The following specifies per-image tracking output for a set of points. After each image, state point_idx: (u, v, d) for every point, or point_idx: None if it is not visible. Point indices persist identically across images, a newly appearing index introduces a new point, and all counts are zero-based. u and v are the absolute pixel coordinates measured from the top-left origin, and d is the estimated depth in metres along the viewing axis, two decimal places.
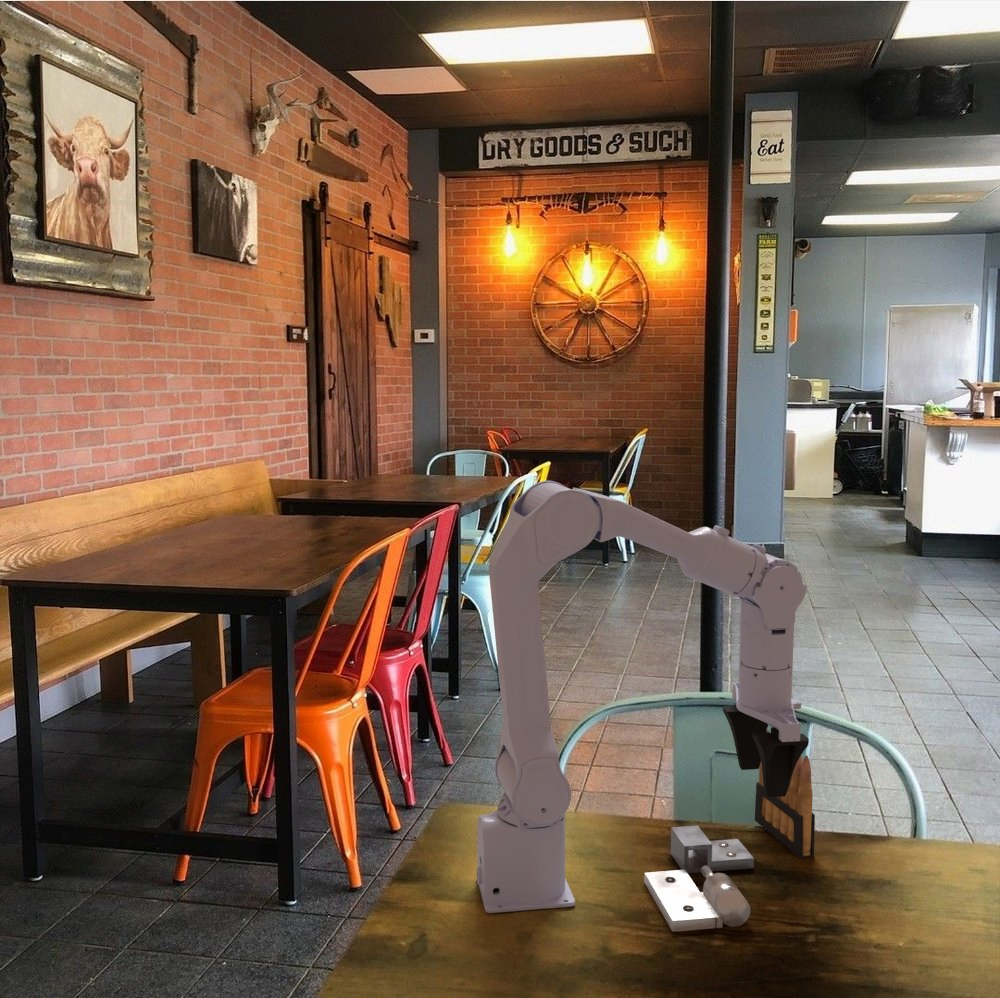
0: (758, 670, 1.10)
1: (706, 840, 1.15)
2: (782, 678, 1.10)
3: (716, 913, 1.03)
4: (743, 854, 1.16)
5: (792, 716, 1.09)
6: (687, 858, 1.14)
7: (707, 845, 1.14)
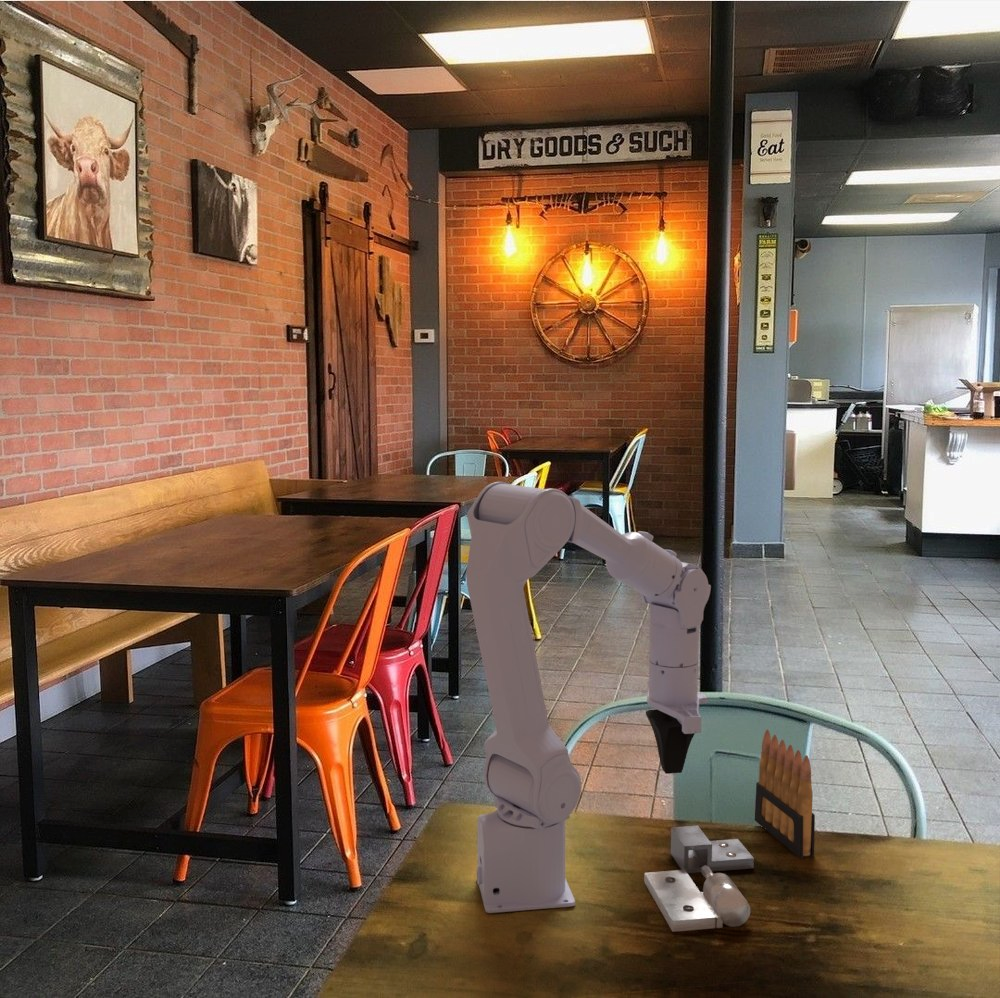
0: (665, 667, 1.18)
1: (706, 840, 1.15)
2: (687, 674, 1.18)
3: (716, 913, 1.03)
4: (743, 854, 1.16)
5: (695, 710, 1.17)
6: (687, 858, 1.14)
7: (707, 845, 1.14)
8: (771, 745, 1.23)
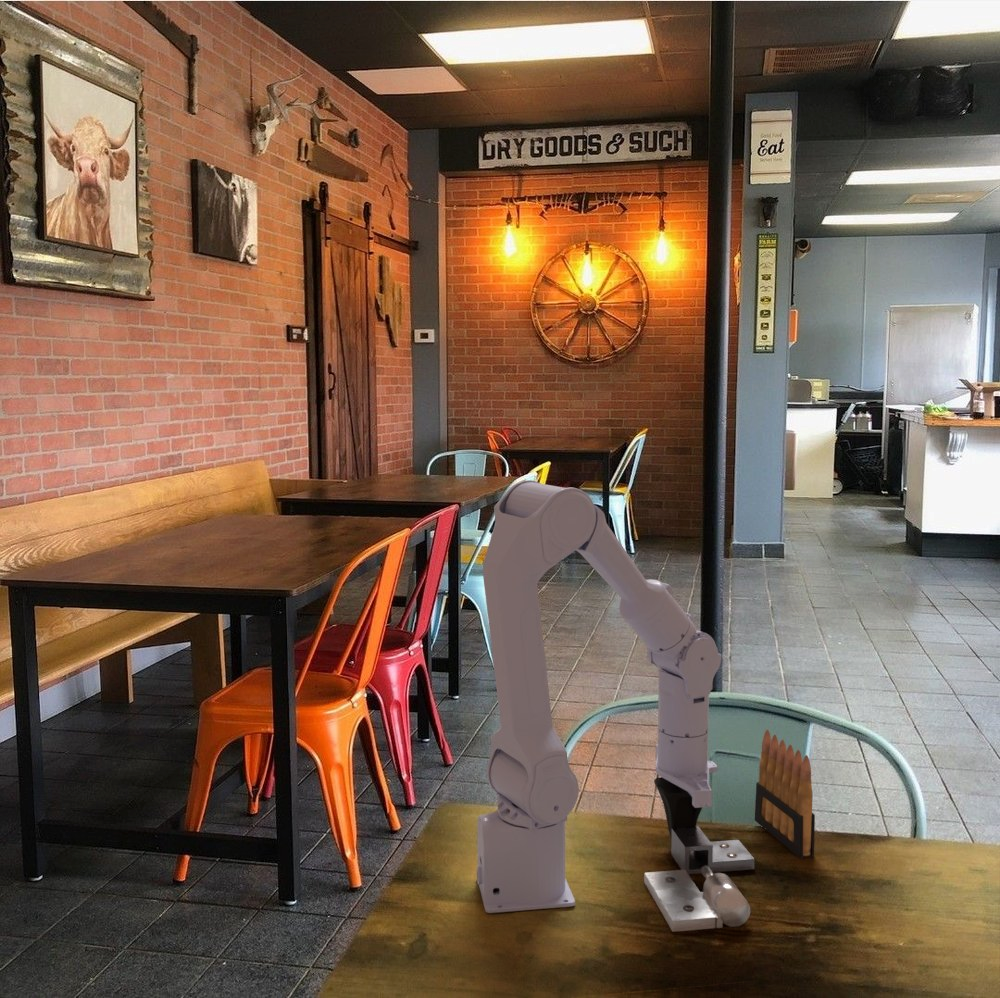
0: (674, 737, 1.15)
1: (707, 841, 1.14)
2: (697, 744, 1.16)
3: (716, 913, 1.03)
4: (744, 855, 1.15)
5: (706, 781, 1.14)
6: (688, 859, 1.13)
7: (708, 846, 1.13)
8: (771, 745, 1.23)
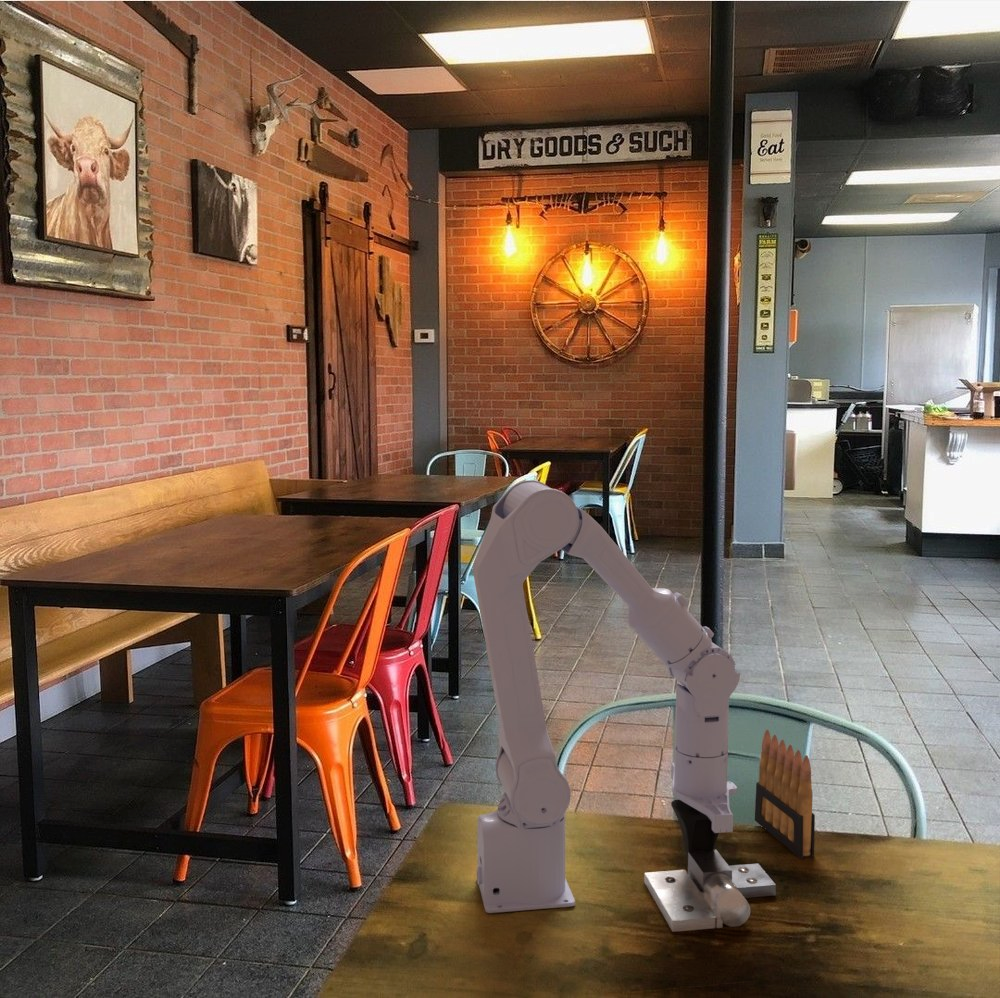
0: (692, 757, 1.09)
1: (726, 866, 1.09)
2: (716, 765, 1.09)
3: (716, 913, 1.03)
4: (765, 881, 1.10)
5: (726, 805, 1.08)
6: None
7: (727, 871, 1.08)
8: (771, 745, 1.23)
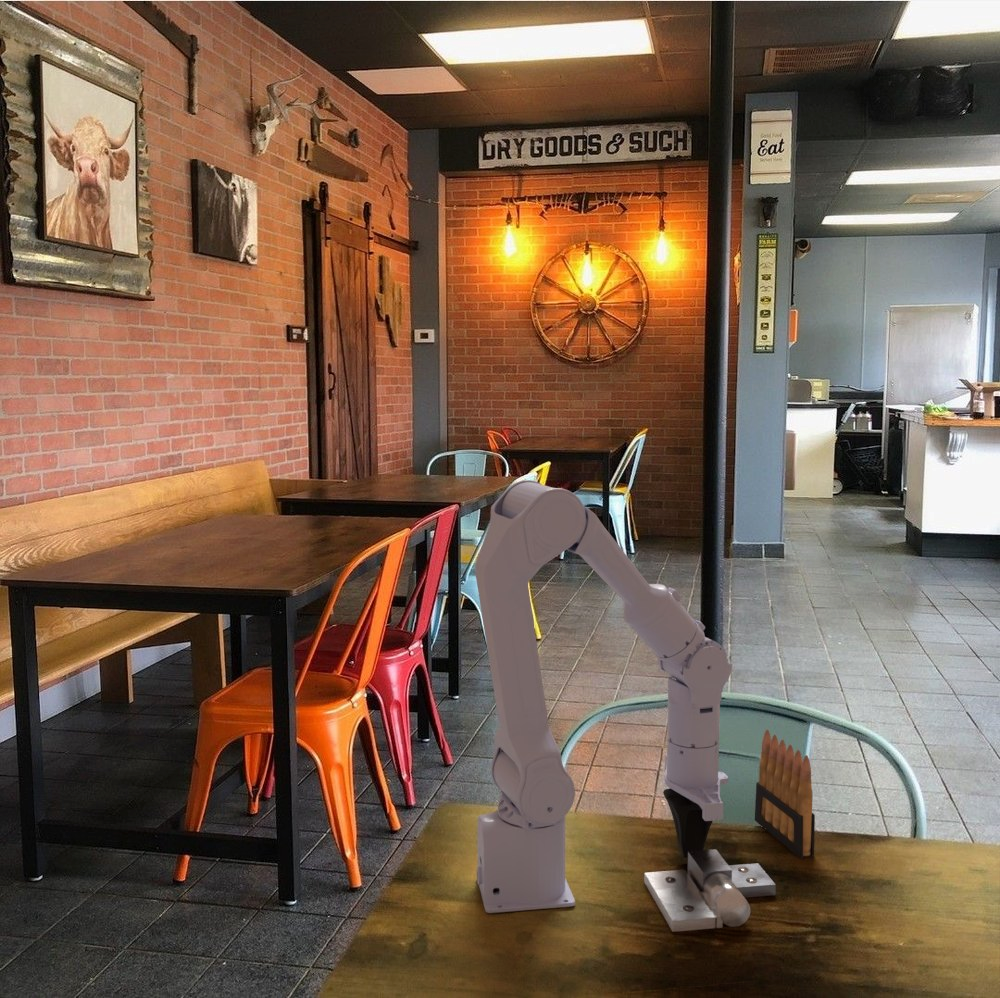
0: (684, 748, 1.12)
1: (725, 865, 1.09)
2: (707, 755, 1.12)
3: (716, 913, 1.03)
4: (765, 880, 1.10)
5: (716, 794, 1.11)
6: None
7: (727, 871, 1.08)
8: (771, 745, 1.23)
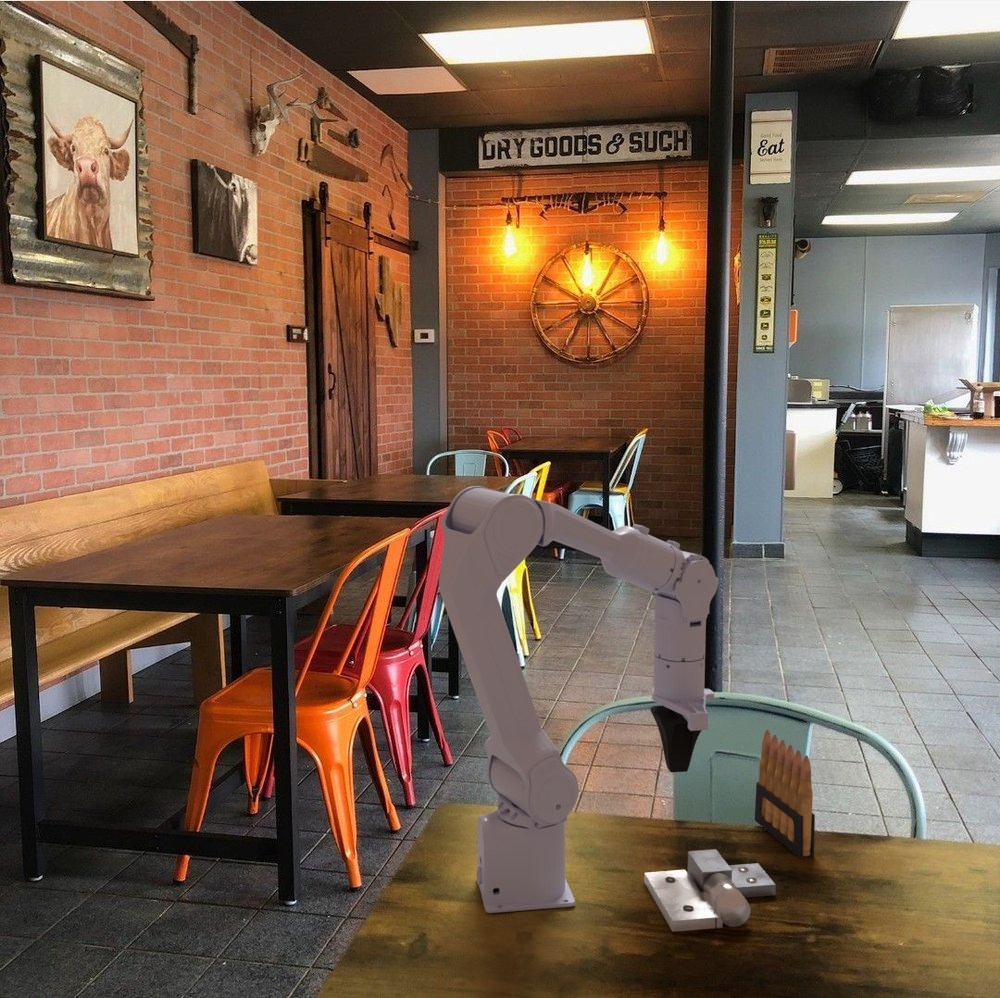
0: (670, 662, 1.14)
1: (725, 865, 1.09)
2: (693, 669, 1.14)
3: (716, 913, 1.03)
4: (765, 880, 1.10)
5: (702, 706, 1.12)
6: None
7: (727, 871, 1.08)
8: (771, 745, 1.23)
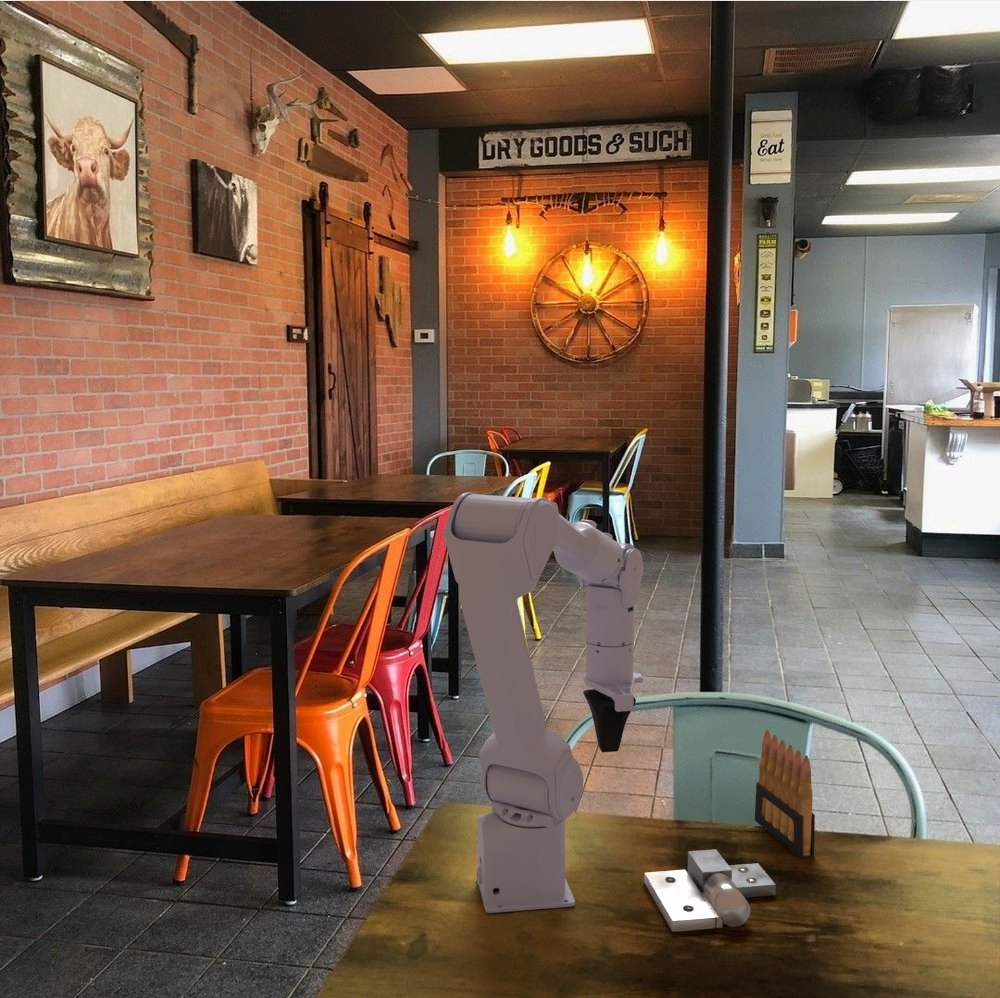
0: (600, 647, 1.20)
1: (725, 865, 1.09)
2: (622, 654, 1.20)
3: (716, 913, 1.03)
4: (765, 880, 1.10)
5: (629, 688, 1.19)
6: None
7: (727, 871, 1.08)
8: (771, 745, 1.23)
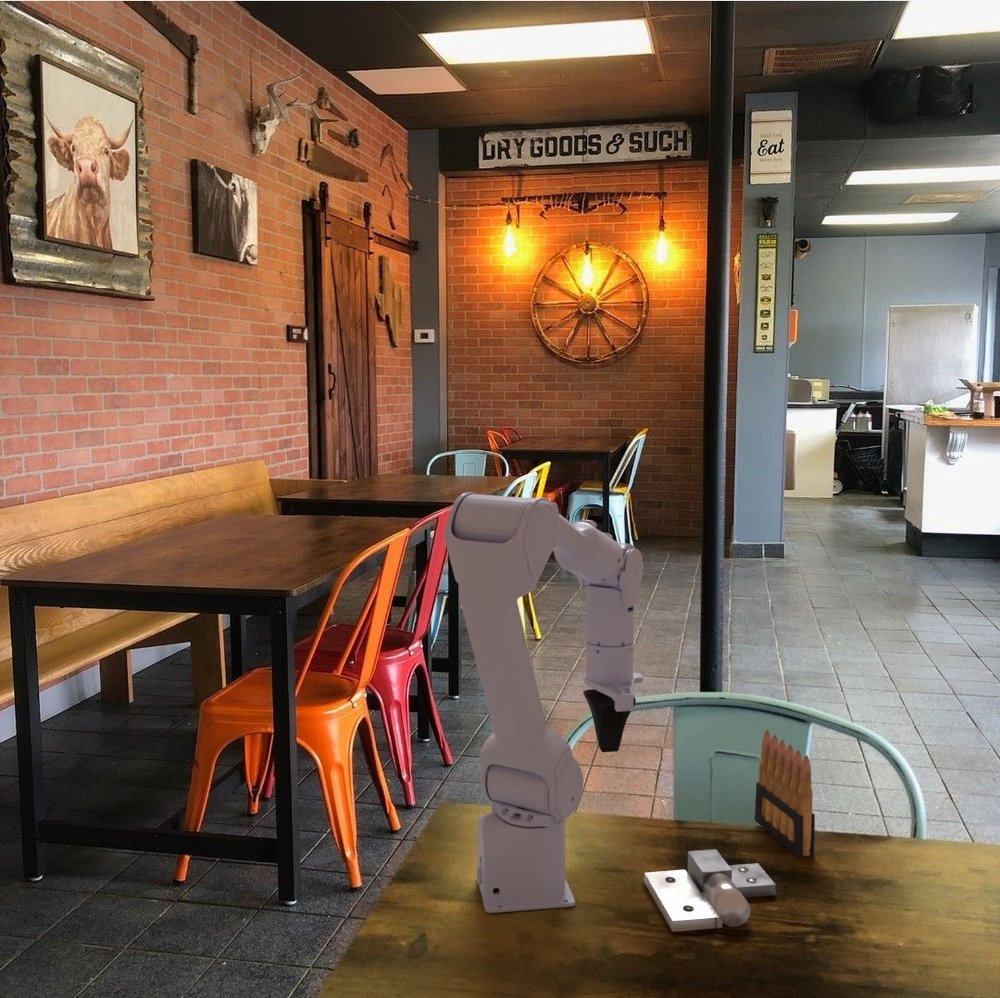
0: (600, 647, 1.20)
1: (725, 865, 1.09)
2: (622, 654, 1.20)
3: (716, 913, 1.03)
4: (765, 880, 1.10)
5: (629, 688, 1.19)
6: None
7: (727, 871, 1.08)
8: (771, 745, 1.23)
